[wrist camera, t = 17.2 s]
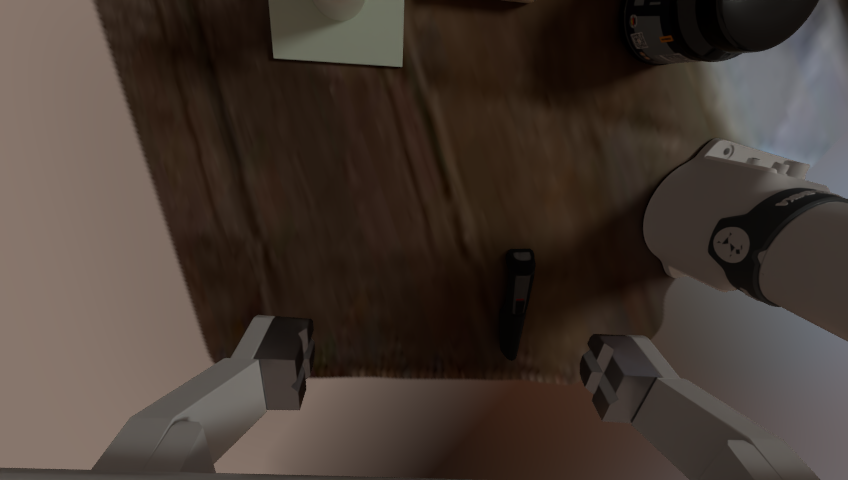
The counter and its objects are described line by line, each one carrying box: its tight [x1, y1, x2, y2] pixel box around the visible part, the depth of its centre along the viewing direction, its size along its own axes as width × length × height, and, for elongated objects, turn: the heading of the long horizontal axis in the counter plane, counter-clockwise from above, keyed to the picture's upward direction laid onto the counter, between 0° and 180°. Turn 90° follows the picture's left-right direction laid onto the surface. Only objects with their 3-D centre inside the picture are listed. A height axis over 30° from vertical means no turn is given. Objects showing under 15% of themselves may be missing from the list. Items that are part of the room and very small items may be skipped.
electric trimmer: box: [500, 249, 535, 361], centre depth 49 cm, size 4×16×3 cm, turn 178°
